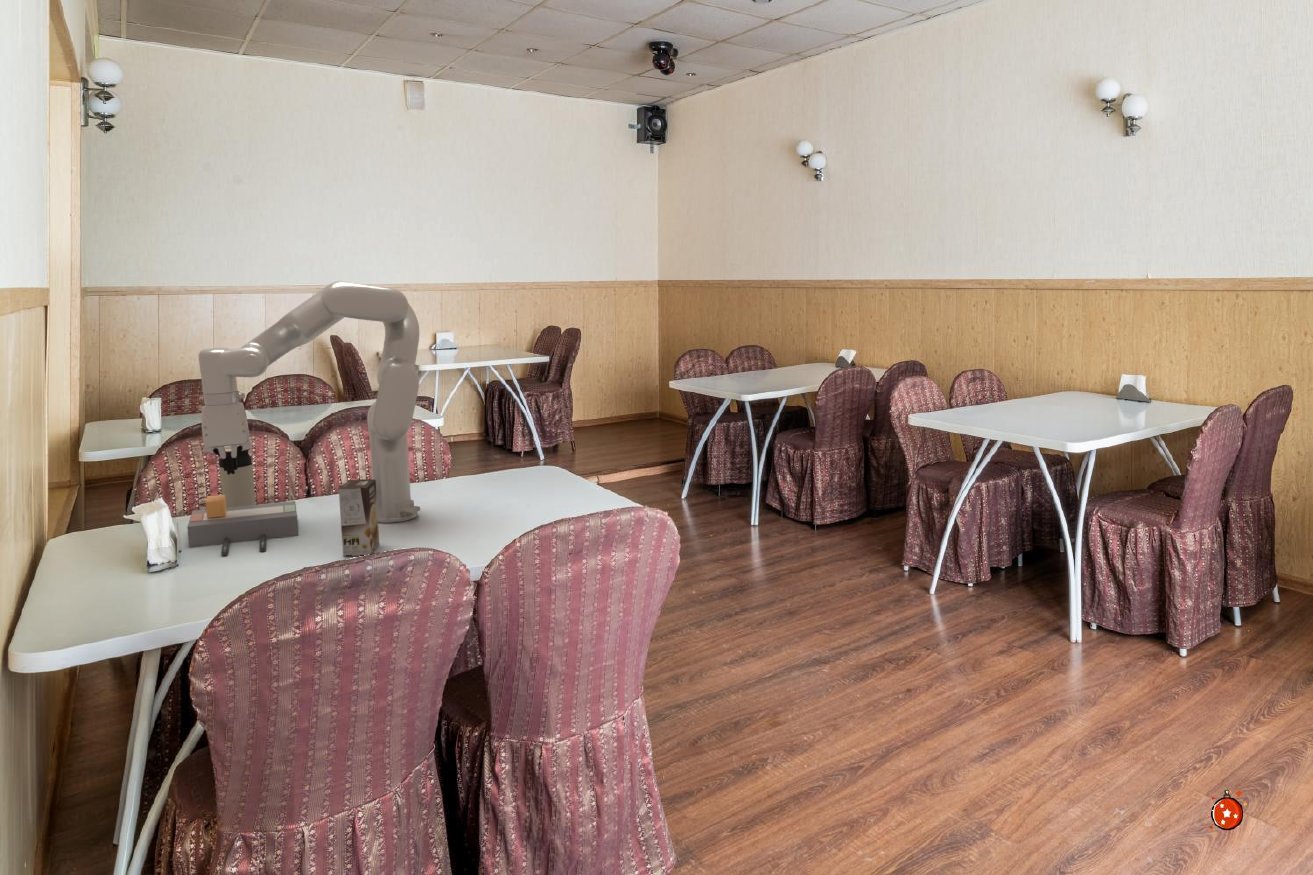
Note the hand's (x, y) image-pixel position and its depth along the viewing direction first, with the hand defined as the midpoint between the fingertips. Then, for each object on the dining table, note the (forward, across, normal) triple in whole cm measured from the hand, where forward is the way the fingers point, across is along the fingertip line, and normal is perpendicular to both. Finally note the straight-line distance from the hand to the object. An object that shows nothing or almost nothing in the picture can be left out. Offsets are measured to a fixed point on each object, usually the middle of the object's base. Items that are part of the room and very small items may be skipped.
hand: (231, 473), depth 216 cm
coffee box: (+16, -27, +27) cm, 42 cm away
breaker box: (+16, -2, +6) cm, 17 cm away
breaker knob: (+10, +4, 0) cm, 11 cm away
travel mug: (+16, 0, -22) cm, 27 cm away
